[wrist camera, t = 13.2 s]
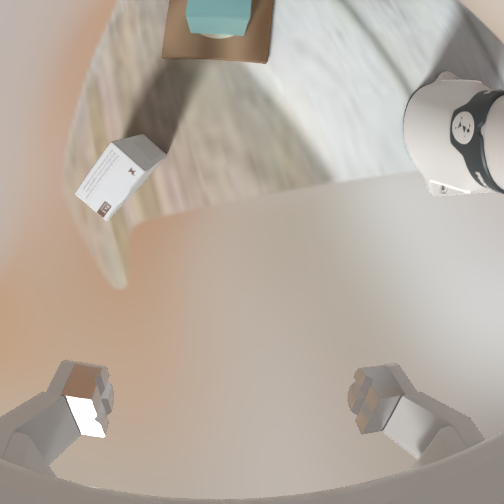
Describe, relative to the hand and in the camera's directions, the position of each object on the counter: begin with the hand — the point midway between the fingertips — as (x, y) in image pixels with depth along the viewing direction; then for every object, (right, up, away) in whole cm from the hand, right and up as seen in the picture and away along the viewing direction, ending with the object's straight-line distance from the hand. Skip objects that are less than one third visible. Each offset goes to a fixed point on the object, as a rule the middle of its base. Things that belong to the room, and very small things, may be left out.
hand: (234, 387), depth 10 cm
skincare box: (-13, +15, +27) cm, 33 cm away
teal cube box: (-3, +31, +19) cm, 37 cm away
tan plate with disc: (-3, +32, +21) cm, 38 cm away
